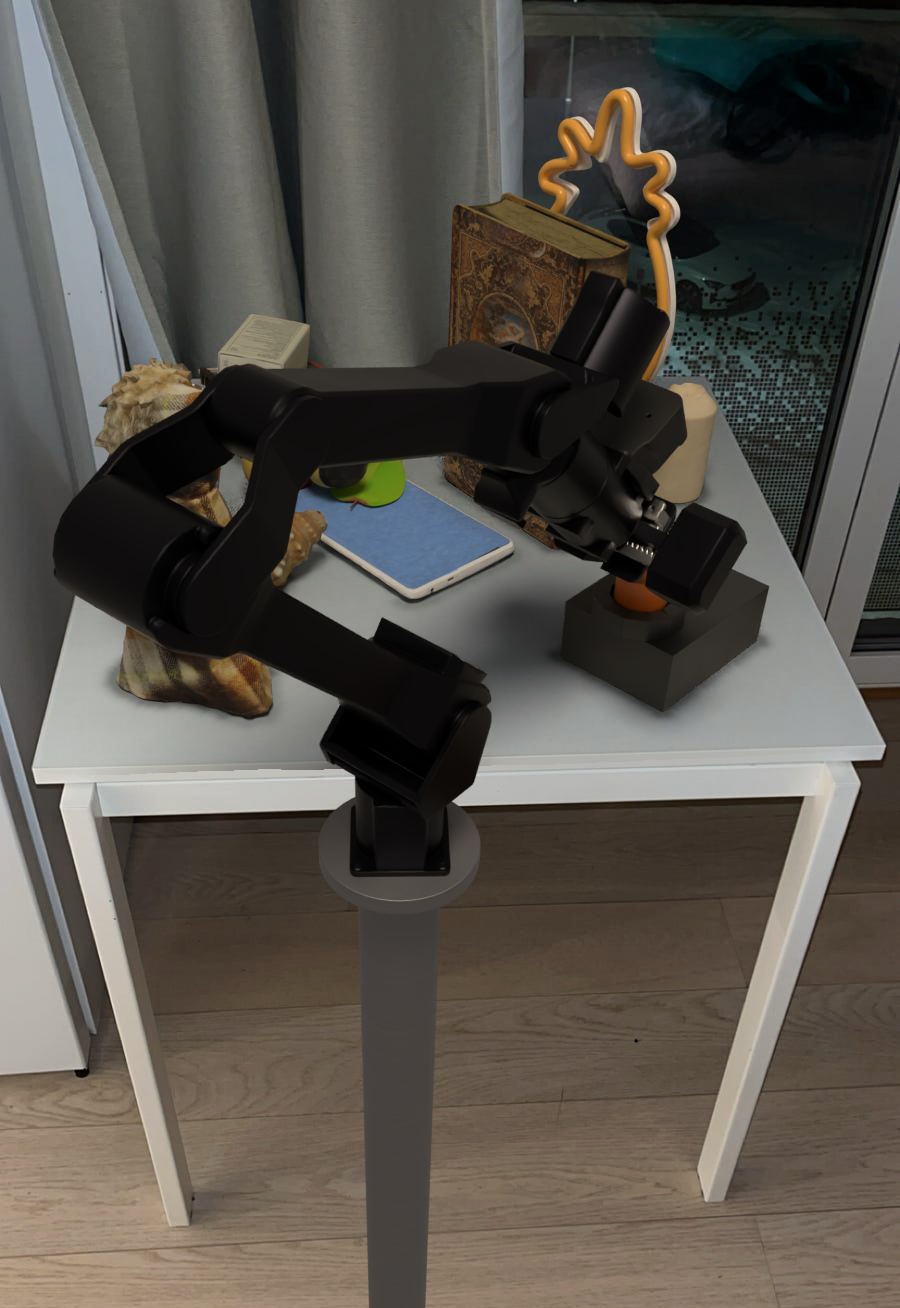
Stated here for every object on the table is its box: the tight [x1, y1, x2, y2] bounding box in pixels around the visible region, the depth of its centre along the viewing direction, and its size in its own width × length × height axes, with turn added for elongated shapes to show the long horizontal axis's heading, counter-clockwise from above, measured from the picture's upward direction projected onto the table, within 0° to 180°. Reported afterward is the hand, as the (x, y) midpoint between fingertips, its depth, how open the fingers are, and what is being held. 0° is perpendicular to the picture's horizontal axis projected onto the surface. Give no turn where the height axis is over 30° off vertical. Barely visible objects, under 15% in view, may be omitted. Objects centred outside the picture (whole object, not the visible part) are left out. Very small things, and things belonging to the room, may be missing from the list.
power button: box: [614, 568, 667, 612], centre depth 95 cm, size 4×4×2 cm
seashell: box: [232, 510, 328, 587], centre depth 106 cm, size 9×8×10 cm
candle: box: [652, 382, 718, 504], centre depth 118 cm, size 6×6×10 cm
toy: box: [241, 458, 368, 490], centre depth 114 cm, size 9×11×10 cm
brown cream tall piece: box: [93, 357, 273, 718], centre depth 91 cm, size 14×14×25 cm
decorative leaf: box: [330, 460, 407, 508], centre depth 117 cm, size 8×9×1 cm
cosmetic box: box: [217, 313, 311, 374], centre depth 123 cm, size 6×4×12 cm
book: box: [443, 192, 632, 550], centre depth 110 cm, size 16×6×25 cm, turn 39°
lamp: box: [537, 86, 681, 384], centre depth 117 cm, size 17×9×32 cm, turn 42°
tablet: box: [295, 478, 516, 600], centre depth 113 cm, size 19×13×1 cm, turn 43°
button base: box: [559, 568, 770, 713], centre depth 100 cm, size 14×10×7 cm
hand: (646, 560), depth 94 cm, fingers closed
